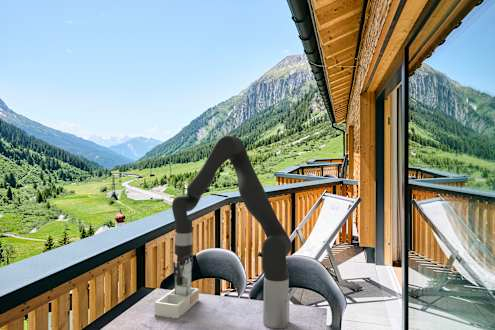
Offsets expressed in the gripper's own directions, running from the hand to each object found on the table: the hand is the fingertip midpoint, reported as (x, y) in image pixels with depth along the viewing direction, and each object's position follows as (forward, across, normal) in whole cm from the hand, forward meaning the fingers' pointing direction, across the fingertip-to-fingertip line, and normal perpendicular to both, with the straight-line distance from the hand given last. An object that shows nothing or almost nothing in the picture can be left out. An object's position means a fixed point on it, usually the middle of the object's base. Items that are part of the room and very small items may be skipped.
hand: (183, 282), depth 152 cm
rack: (+9, -4, 0) cm, 10 cm away
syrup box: (+6, 0, 0) cm, 6 cm away
